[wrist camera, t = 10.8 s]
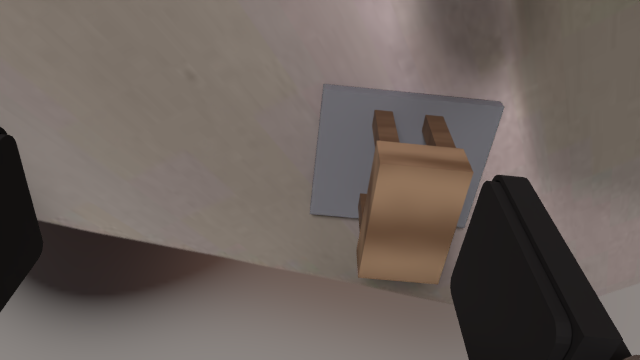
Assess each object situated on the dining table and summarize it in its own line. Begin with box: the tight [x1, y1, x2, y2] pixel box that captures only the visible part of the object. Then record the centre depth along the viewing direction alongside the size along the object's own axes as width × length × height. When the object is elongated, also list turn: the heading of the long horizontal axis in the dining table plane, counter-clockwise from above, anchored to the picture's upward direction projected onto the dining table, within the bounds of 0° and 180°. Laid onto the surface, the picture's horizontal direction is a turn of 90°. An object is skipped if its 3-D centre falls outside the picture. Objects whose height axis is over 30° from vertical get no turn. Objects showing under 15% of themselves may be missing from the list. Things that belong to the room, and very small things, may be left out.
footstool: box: [357, 110, 474, 284], centre depth 38 cm, size 10×6×8 cm, turn 174°
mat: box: [310, 84, 504, 228], centre depth 42 cm, size 14×12×1 cm
